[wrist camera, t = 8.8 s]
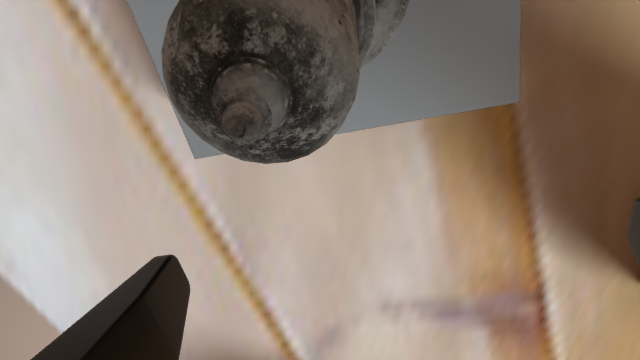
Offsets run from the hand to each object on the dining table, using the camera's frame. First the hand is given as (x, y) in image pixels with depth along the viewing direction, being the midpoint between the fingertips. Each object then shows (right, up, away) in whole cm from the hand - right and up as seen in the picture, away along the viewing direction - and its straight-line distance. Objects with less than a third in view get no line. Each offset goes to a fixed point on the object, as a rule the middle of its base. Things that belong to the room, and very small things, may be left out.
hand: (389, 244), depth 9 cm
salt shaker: (-2, +9, +6) cm, 11 cm away
